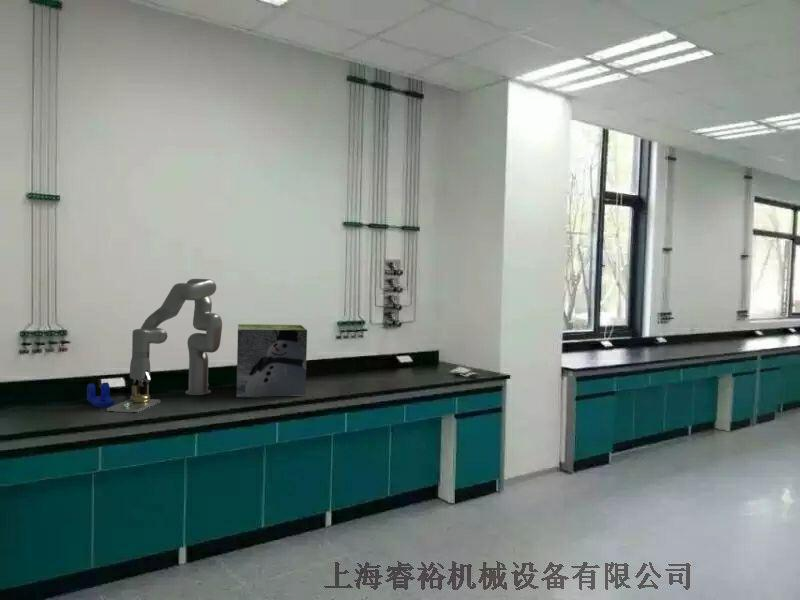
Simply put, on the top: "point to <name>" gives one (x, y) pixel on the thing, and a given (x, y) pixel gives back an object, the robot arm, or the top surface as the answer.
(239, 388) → the photo cube
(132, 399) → the footscrew knob
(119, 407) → the plate
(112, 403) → the bracket
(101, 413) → the top surface
